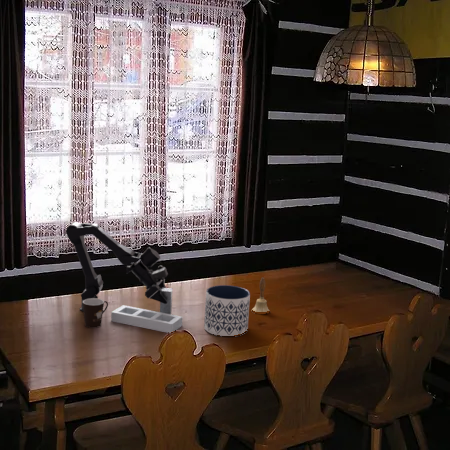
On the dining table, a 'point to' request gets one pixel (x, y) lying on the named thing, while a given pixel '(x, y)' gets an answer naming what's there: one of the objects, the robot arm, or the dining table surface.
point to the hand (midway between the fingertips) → (168, 299)
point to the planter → (226, 310)
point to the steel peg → (168, 296)
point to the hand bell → (261, 299)
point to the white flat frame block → (146, 319)
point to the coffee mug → (93, 312)
